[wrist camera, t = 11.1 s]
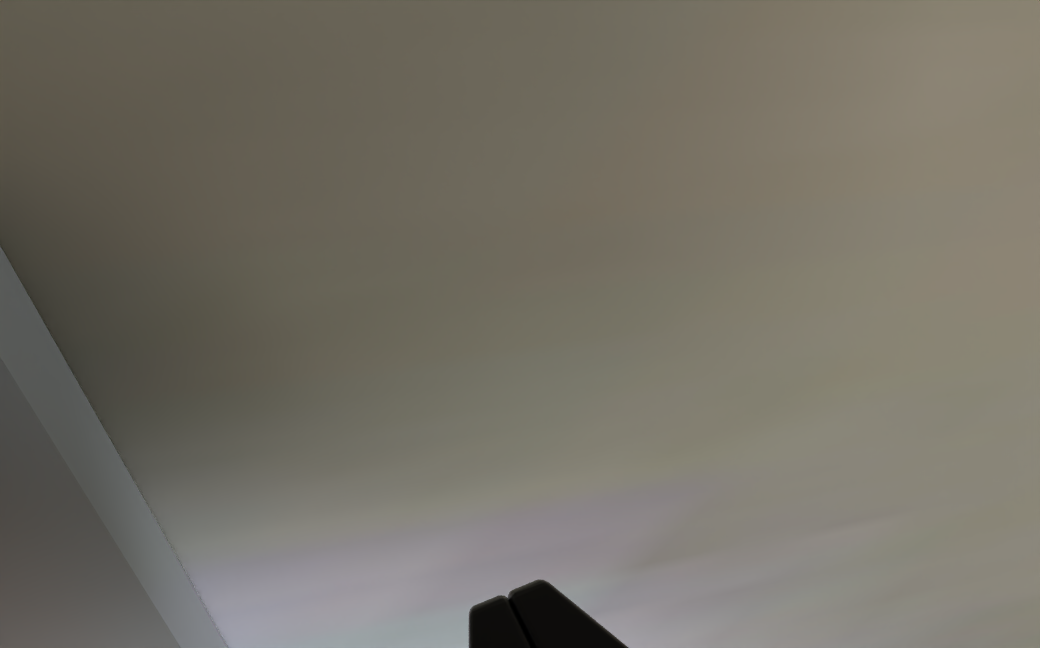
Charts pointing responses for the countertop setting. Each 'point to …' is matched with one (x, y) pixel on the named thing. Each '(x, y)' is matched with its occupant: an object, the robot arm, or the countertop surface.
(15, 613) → the grey divided tray
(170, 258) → the countertop surface
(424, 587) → the countertop surface
